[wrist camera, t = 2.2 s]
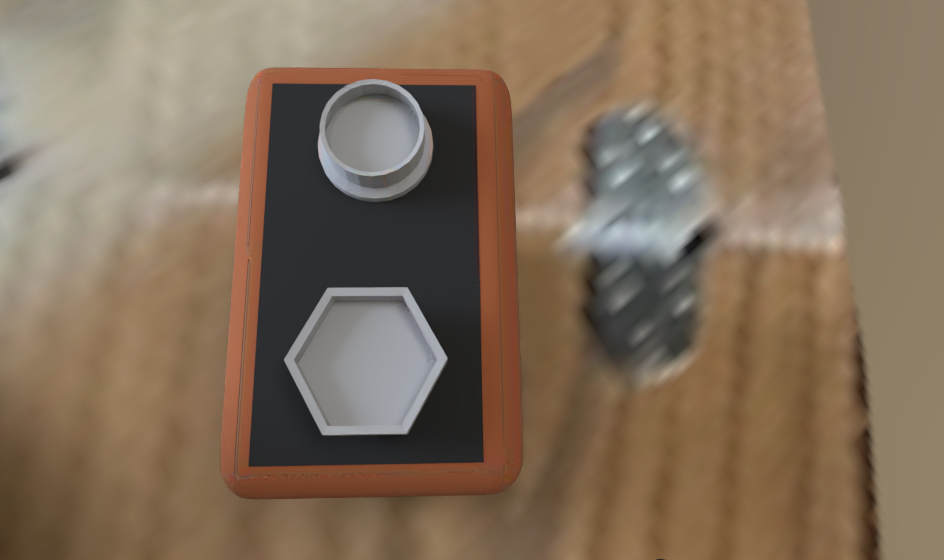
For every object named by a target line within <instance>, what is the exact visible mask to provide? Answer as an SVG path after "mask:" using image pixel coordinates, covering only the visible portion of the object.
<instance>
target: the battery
mask: <svg viewBox="0 0 944 560" xmlns="http://www.w3.org/2000/svg"><path fill="white" fill-rule="evenodd" d="M522 463H523V417H522V388H521V359H520V331H519V302H518V274H517V245H516V216H515V188H514V159H513V131H512V111H511V100H510V94H509V91H508V88H507V86H506V84H505V82H504V81H503V79H502V78H501V77H500V76H499V75H498V74H496V73H494V72H492V71H488V70H469V69H377V68H267V69H264V70H262V71H260V72H259V73H257V74H256V75H255V77H254V78H253V80H252V82H251V84H250V86H249V89H248V93H247V99H246V107H245V119H244V131H243V144H242V158H241V171H240V185H239V199H238V212H237V226H236V239H235V253H234V267H233V280H232V294H231V308H230V321H229V335H228V348H227V362H226V376H225V389H224V403H223V416H222V431H221V447H220V470H221V475H222V478H223V480H224V482H225V484H226V485H227V487H228V488H229V489H230V490H231V491H232V492H233V493H234V494H236V495H237V496H239V497H242V498H246V499H299V498H348V497H398V496H447V495H485V494H496V493H500V492H502V491H504V490H506V489H507V488H509V487H510V486H511V485H512V484H513V483H514V481H515V480H516V479H517V477H518V475H519V473H520V471H521V468H522Z"/></svg>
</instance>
